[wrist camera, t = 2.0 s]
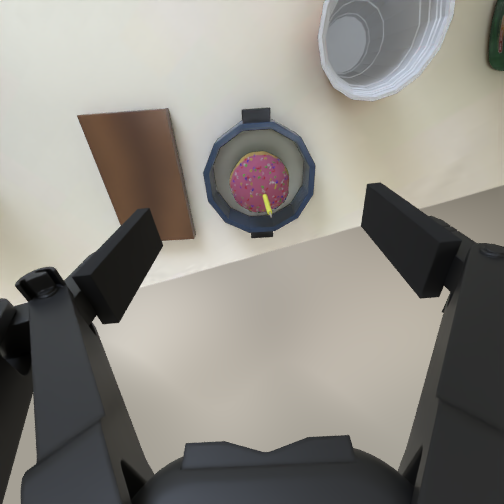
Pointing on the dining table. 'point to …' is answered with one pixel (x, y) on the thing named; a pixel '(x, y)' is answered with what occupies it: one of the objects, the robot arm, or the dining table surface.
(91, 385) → the robot arm
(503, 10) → the coffee jar
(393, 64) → the plastic cup
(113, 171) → the cutting board
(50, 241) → the dining table surface
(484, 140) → the dining table surface
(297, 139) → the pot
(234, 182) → the cupcake
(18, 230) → the dining table surface
